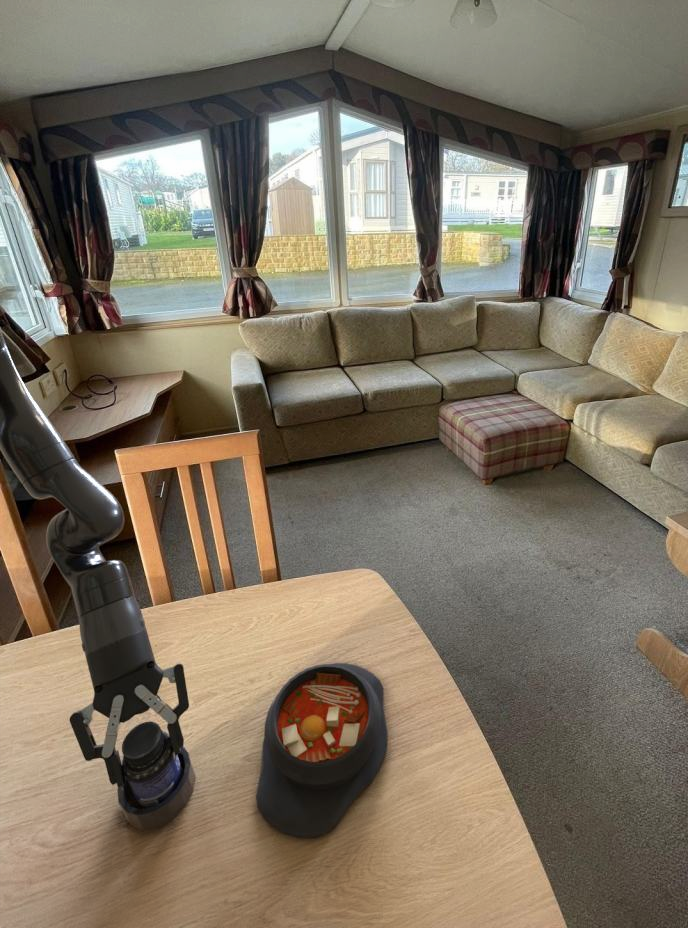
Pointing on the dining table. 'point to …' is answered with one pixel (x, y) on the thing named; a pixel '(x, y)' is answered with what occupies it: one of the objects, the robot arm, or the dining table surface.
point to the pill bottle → (150, 764)
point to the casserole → (321, 747)
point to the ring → (165, 809)
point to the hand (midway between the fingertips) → (150, 768)
